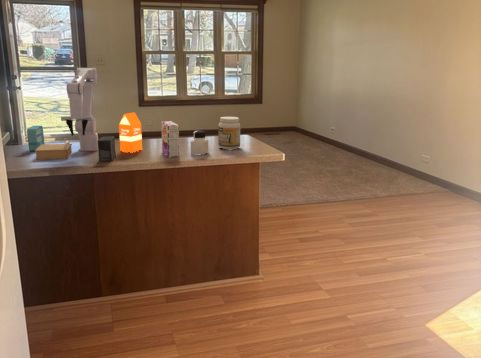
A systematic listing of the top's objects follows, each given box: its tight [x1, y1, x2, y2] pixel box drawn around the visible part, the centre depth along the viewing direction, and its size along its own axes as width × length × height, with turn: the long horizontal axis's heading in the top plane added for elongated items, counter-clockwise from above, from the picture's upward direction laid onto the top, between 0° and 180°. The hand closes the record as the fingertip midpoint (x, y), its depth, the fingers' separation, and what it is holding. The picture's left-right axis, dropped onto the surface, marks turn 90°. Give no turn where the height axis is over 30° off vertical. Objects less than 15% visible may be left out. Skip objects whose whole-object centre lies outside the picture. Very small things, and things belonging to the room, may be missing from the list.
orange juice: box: [118, 112, 143, 154], centre depth 237 cm, size 8×9×20 cm
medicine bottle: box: [190, 130, 209, 156], centre depth 234 cm, size 7×7×12 cm
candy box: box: [160, 120, 180, 158], centre depth 230 cm, size 14×6×16 cm, turn 23°
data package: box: [26, 125, 45, 152], centre depth 238 cm, size 12×4×12 cm, turn 7°
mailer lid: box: [34, 140, 73, 153], centre depth 224 cm, size 15×15×3 cm
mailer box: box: [35, 146, 73, 161], centre depth 224 cm, size 14×14×4 cm
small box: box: [97, 135, 117, 163], centre depth 219 cm, size 11×6×10 cm, turn 5°
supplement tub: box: [217, 116, 241, 150], centre depth 248 cm, size 12×12×17 cm
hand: (78, 135), depth 224 cm, fingers open, 5 cm apart
